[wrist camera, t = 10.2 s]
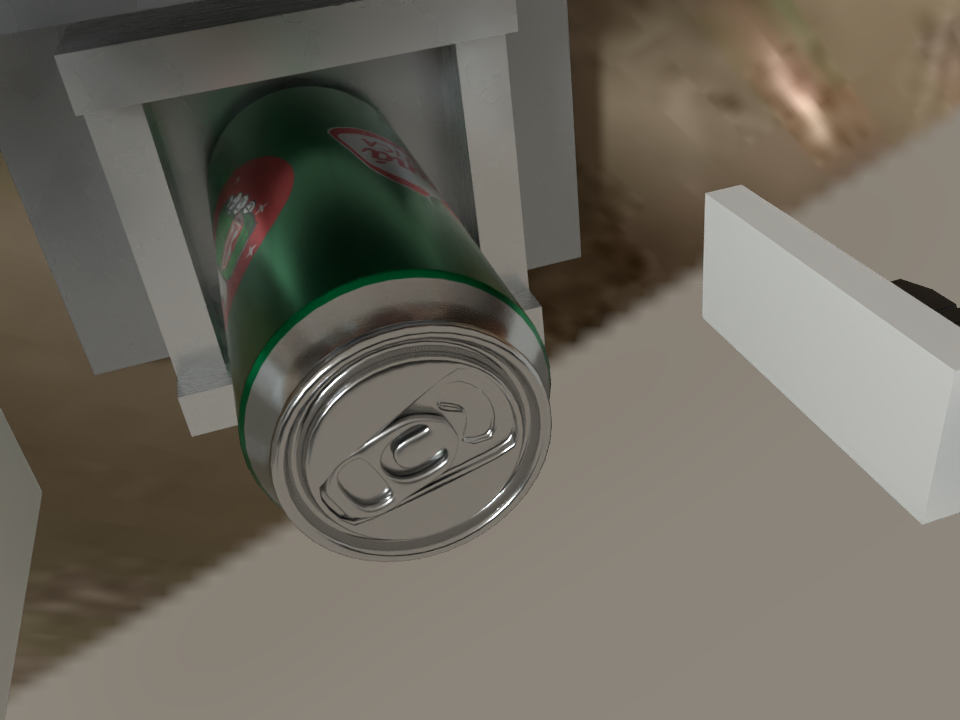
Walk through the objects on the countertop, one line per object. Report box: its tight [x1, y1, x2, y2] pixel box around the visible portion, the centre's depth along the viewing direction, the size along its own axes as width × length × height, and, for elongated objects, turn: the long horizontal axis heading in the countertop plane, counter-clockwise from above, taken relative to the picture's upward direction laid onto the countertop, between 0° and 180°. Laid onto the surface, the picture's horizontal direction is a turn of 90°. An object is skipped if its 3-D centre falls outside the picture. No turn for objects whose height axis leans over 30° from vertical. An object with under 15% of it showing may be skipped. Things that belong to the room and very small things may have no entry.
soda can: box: [207, 86, 552, 562], centre depth 18 cm, size 5×5×12 cm
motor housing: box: [0, 0, 581, 437], centre depth 19 cm, size 18×17×10 cm
